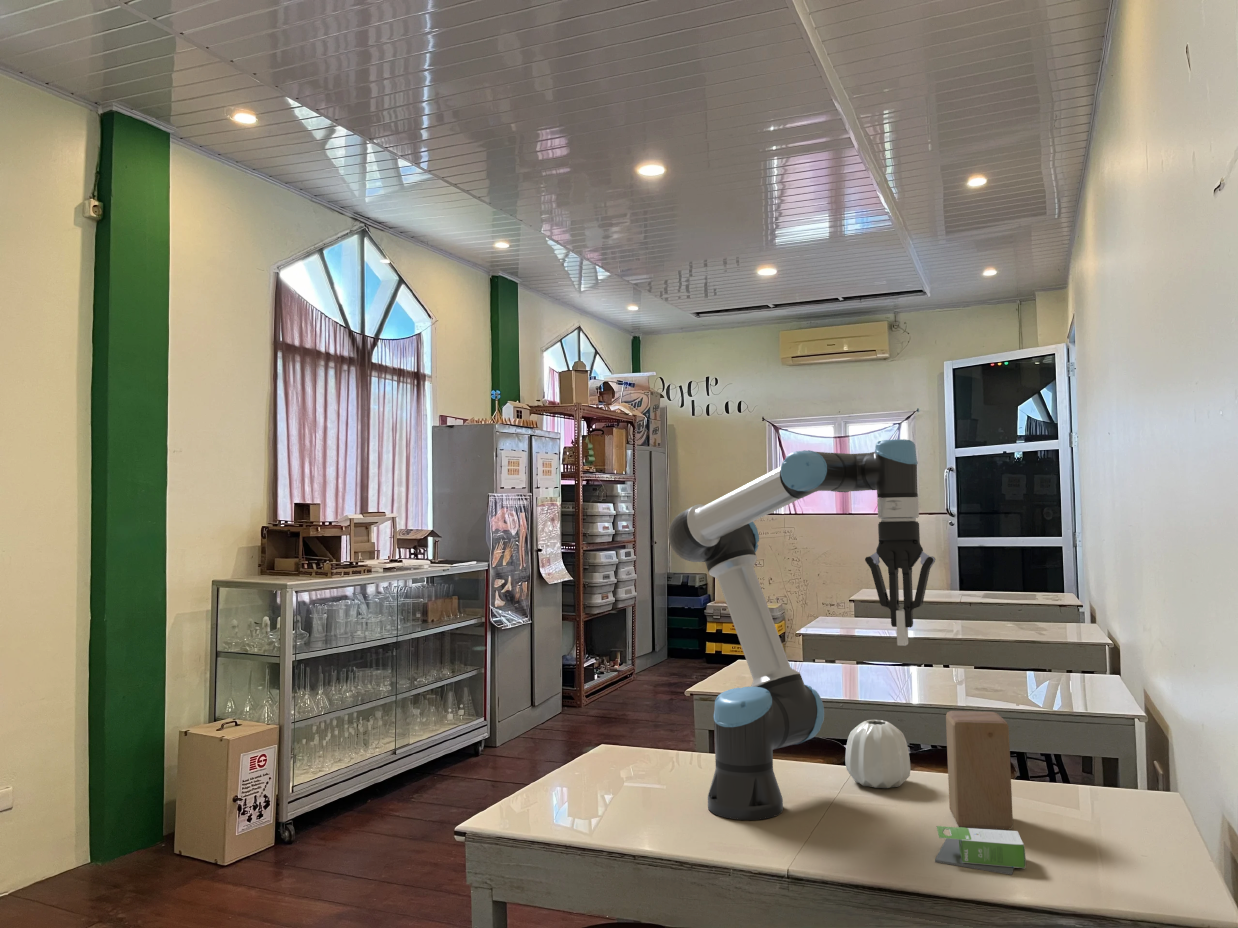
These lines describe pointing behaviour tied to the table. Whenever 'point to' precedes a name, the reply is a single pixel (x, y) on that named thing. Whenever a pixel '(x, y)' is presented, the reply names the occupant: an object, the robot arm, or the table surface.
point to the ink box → (988, 846)
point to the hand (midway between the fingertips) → (902, 644)
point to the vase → (877, 755)
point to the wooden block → (979, 770)
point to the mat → (953, 857)
